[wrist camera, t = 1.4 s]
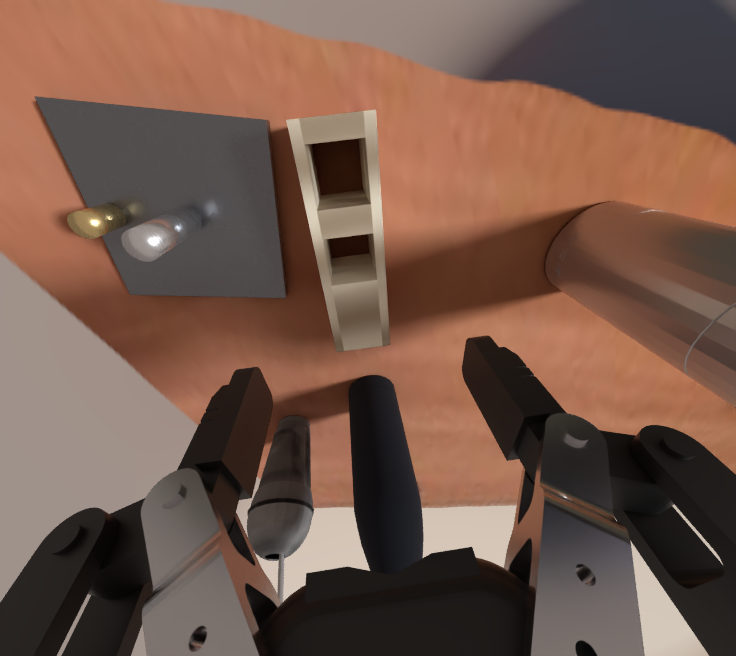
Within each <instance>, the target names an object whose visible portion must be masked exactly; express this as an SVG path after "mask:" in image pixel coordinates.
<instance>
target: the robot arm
mask: <svg viewBox="0 0 736 656" xmlns="http://www.w3.org/2000/svg"><path fill="white" fill-rule="evenodd" d="M545 270H546V275H547V278H548V280H549V281H550V282H551V284H552V285H554V286H555V287H557V288H558V289H560V290H561V291H563V292H564V293H566V294H567V295H569V296H570V297H572V298H573V299H575V300H576V301H577V302H579V303H580V304H582V305H583V306H585V307H586V308H588V309H589V310H591V311H592V312H593V313H595V314H596V315H598V316H599V317H601V318H602V319H604V320H605V321H607V322H608V323H610V324H611V325H613V326H614V327H616V328H617V329H619V330H620V331H622V332H623V333H625V334H626V335H628V336H629V337H631V338H632V339H634V340H635V341H637V342H638V343H640V344H641V345H643V346H644V347H646V348H647V349H649V350H650V351H652V352H653V353H655V354H656V355H658V356H659V357H660V358H662V359H663V360H665V361H666V362H668V363H669V364H671V365H672V366H674V367H675V368H677V369H678V370H680V371H681V372H683V373H684V374H686V375H687V376H689V377H690V378H692V379H694V380H695V381H697V382H698V383H700V384H701V385H703V386H704V387H706V388H707V389H709V390H710V391H712V392H713V393H715V394H716V395H718V396H719V397H720V398H722V399H723V400H725V401H726V402H728V403H729V404H731V405H732V406H734V407H735V408H736V227H731V226H727V225H722V224H718V223H713V222H709V221H704V220H700V219H695V218H691V217H686V216H682V215H677V214H673V213H668V212H665V211H661V210H656V209H651V208H647V207H642V206H638V205H633V204H629V203H624V202H615V201H612V202H606V203H601V204H599V205H596V206H593V207H591V208H589V209H587V210H586V211H584V212H582V213H581V214H579V215H578V216H577V217H575V218H574V219H572V220H571V221H570V222H569V223H568V224H567V225H566V226H565V227H564V228H563V229H562V230H561V232H560V233H559V234H558V236H557V237H556V238H555V240H554V242H553V243H552V245H551V247H550V249H549V252H548V255H547V257H546V263H545ZM462 373H463V378H464V381H465V383H466V385H467V387H468V389H469V390H470V392H471V394H472V396H473V398H474V400H475V402H476V403H477V405H478V407H479V409H480V411H481V413H482V415H483V417H484V418H485V420H486V422H487V424H488V426H489V428H490V430H491V432H492V433H493V435H494V437H495V439H496V441H497V443H498V445H499V447H500V448H501V450H502V452H503V454H504V456H505V458H506V460H507V461H508V460H514V459H520V461H521V463H522V465H523V466H524V468H523V470H522V476H521V482H520V489H519V495H518V502H517V508H516V515H515V521H514V527H513V531H512V535H511V538H510V541H509V545H508V549H507V553H506V559H505V565H504V568H502V567H500V566H498V565H496V564H494V563H492V562H489V561H486V560H483V559H479V558H476V557H475V554H474V551H473V548H472V547H469V548H463V549H457V550H450V551H443V552H437V553H432V554H430V555H428V556H426V557H424V558H422V559H421V560H419V561H417V562H415V563H413V564H411V565H410V566H408V567H406V568H404V569H402V570H400V571H399V572H397V573H395V574H383V573H378V572H372V571H367V570H362V569H356V568H351V567H343V568H337V569H331V570H325V571H318V572H312V573H307V574H306V585H305V586H303V587H301V588H300V589H298V590H297V591H296V592H294V593H293V594H292V595H290V596H289V597H288V598H287V599H286V600H285V601H284V602H283V603H281V601H280V599H279V597H278V595H277V593H276V591H275V589H274V587H273V585H272V584H271V582H270V580H269V579H268V577H267V576H266V574H265V573H264V571H263V570H262V568H261V566H260V564H259V562H258V560H257V558H256V555H255V553H254V551H253V548H252V546H251V544H250V542H249V539H248V537H247V535H246V533H245V531H244V529H243V526H242V524H241V522H240V520H239V518H238V515H237V514H236V509H237V505H238V501H239V500H242V499H248V498H252V495H253V490H254V486H255V482H256V477H257V473H258V469H259V465H260V460H261V456H262V452H263V447H264V443H265V439H266V434H267V430H268V426H269V422H270V417H271V413H272V408H273V399H272V394H271V392H270V390H269V387H268V385H267V383H266V381H265V379H264V377H263V374H262V372H261V370H260V369H259V368H258V367H253V368H245V369H238V370H236V371H235V372H234V374H233V376H232V378H231V381H230V383H229V385H224V386H222V387H221V388H220V389H219V390H218V391H217V393H216V394H215V395H214V396H213V397H212V398H211V400H210V403H209V405H208V407H207V409H206V413H204V415H203V417H202V419H201V424H199V426H198V428H197V430H196V432H195V434H194V436H193V438H192V440H191V442H190V445H189V447H188V449H187V451H186V453H185V455H184V457H183V459H182V462H181V463H180V466H179V467H178V469H177V471H174V472H172V473H170V474H169V475H167V476H166V477H164V478H163V479H161V480H160V481H159V482H158V483H157V484H156V485H155V486H154V487H153V488H152V489H151V491H150V492H149V493H148V495H147V496H146V498H144V499H142V500H140V501H138V502H136V503H133V504H131V505H129V506H127V507H125V508H122V509H120V510H118V511H115V512H114V513H111V514H108V513H106V512H105V511H103V510H102V509H99V508H89V509H85V510H82V511H80V512H78V513H76V514H74V515H72V516H71V517H69V518H67V519H66V520H65V521H63V522H62V523H61V524H59V525H58V526H57V527H56V528H55V529H54V530H53V531H52V532H51V533H50V534H49V535H48V536H47V537H46V538H45V539H44V540H43V541H42V543H41V544H40V546H39V547H38V548H37V550H36V551H35V553H34V554H33V556H32V557H31V559H30V560H29V561H28V563H27V565H26V566H25V567H24V569H23V570H22V572H21V573H20V575H19V576H18V578H17V579H16V581H15V582H14V583H13V585H12V586H11V588H10V589H9V591H8V592H7V594H6V595H5V597H4V598H3V600H2V601H1V602H0V656H57V654H58V652H59V650H60V648H61V645H62V644H63V642H64V640H65V638H66V636H67V634H68V632H69V630H70V628H71V626H72V624H73V622H74V620H75V618H76V616H77V614H78V612H79V610H80V608H81V606H82V604H83V602H84V600H85V598H86V596H87V594H89V595H91V597H90V599H89V601H88V603H87V605H86V607H85V609H84V611H83V613H82V615H81V618H80V620H79V622H78V623H77V625H76V628H75V630H74V632H73V634H72V636H71V638H70V640H69V642H68V644H67V646H66V648H65V650H64V652H63V654H62V656H131V653H132V651H133V648H134V645H135V642H136V639H137V637H138V634H139V631H140V628H141V626H142V624H143V631H144V639H145V646H146V653H147V656H645V655H644V647H643V639H642V631H641V623H640V614H639V607H638V598H637V591H636V583H635V574H634V566H633V558H632V549H631V542H630V540H631V541H632V543H633V545H634V546H635V547H636V549H637V550H638V552H639V553H640V555H641V556H642V558H643V559H644V561H645V562H646V564H647V565H648V566H649V568H650V569H651V571H652V572H653V574H654V575H655V577H656V578H657V580H658V581H659V583H660V584H661V586H662V587H663V588H664V590H665V591H666V593H667V594H668V596H669V597H670V599H671V600H672V602H673V603H674V605H675V606H676V608H677V609H678V610H679V612H680V613H681V615H682V616H683V617H684V619H685V621H686V622H687V624H688V625H689V627H690V628H691V629H692V631H693V632H694V634H695V635H696V637H697V638H698V640H699V641H700V642H701V644H702V646H703V647H704V648H705V650H706V651H707V653H708V654H709V656H736V475H735V474H734V473H733V472H732V471H731V470H730V469H729V468H728V467H726V466H725V465H724V464H723V463H722V462H721V461H720V460H719V459H717V458H716V457H715V456H714V455H713V454H712V453H711V452H710V451H708V450H707V449H706V448H705V447H704V446H703V445H701V444H700V443H699V442H697V441H696V440H695V439H693V438H691V437H690V436H688V435H686V434H684V433H682V432H680V431H678V430H675V429H672V428H669V427H665V426H659V425H650V426H646V427H644V428H643V429H641V431H640V432H639V433H638V434H637V435H636V436H635V435H628V434H620V433H613V432H606V431H601V430H598V429H597V428H596V427H595V426H594V425H593V424H591V423H590V422H588V421H587V420H585V419H583V418H581V417H578V416H576V415H572V414H567V413H566V412H565V411H564V410H563V408H562V407H561V406H560V405H559V404H558V403H557V401H556V400H555V399H554V398H553V397H552V395H551V394H550V393H549V392H548V391H547V389H546V388H545V387H544V386H543V385H542V384H541V382H540V381H539V380H538V379H537V378H536V377H534V374H533V373H532V372H531V371H530V369H529V368H527V367H526V365H525V363H524V362H523V361H522V360H521V359H520V357H519V356H518V355H517V354H515V353H513V352H512V351H510V350H509V349H507V348H506V347H500V348H499V347H498V346H497V345H496V343H495V342H494V341H493V339H492V338H491V337H490V336H481V337H473V338H468V339H467V341H466V345H465V351H464V358H463V365H462ZM674 504H675V505H676V506H677V508H678V509H679V510H680V511H681V512H682V513H683V515H684V516H685V517H686V518H687V519H688V520H689V521H690V523H691V524H692V525H693V526H694V527H695V528H696V530H697V531H698V532H699V533H700V534H701V535H702V536H703V538H704V539H705V540H706V541H707V542H708V543H709V544H710V546H711V547H712V548H713V549H714V550H715V551H716V553H717V554H718V556H719V557H720V559H721V561H722V563H723V565H722V564H721V562H720V561H719V560H718V559H717V558H716V557H715V555H714V554H713V553H712V552H711V551H710V550H709V548H708V547H707V546H706V545H705V544H704V543H703V542H702V540H701V539H700V538H699V537H698V536H697V534H696V533H695V532H694V531H693V530H692V529H691V527H690V526H689V525H688V524H687V523H686V522H685V520H683V518H682V517H681V516H680V515H679V513H678V512H677V511H676V510H675V509H674V508H673V507H672V505H674ZM614 517H615V518H616V520H617V521H618V522H617V521H616V520H615V518H614Z"/></svg>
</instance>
